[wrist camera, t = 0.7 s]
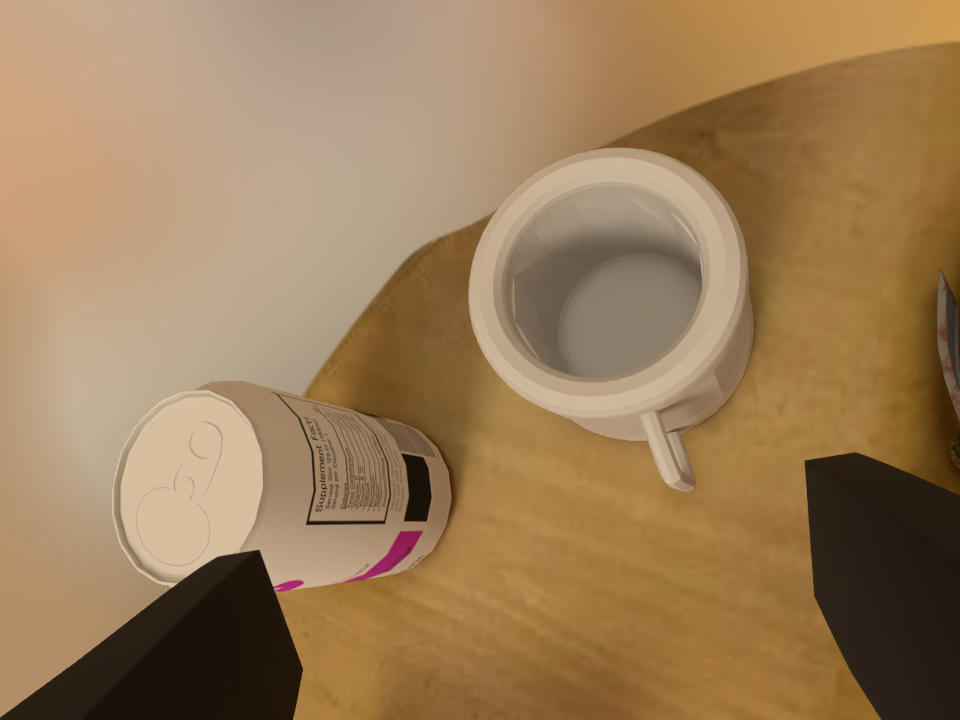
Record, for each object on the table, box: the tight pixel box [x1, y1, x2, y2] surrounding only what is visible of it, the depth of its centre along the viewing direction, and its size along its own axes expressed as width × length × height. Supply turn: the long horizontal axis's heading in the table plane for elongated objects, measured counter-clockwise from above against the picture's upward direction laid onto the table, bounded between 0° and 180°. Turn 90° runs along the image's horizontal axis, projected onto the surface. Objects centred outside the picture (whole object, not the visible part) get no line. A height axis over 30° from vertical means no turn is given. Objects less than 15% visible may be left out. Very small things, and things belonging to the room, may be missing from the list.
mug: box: [468, 147, 754, 492], centre depth 31 cm, size 14×11×10 cm
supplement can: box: [112, 381, 452, 592], centre depth 32 cm, size 8×8×15 cm
